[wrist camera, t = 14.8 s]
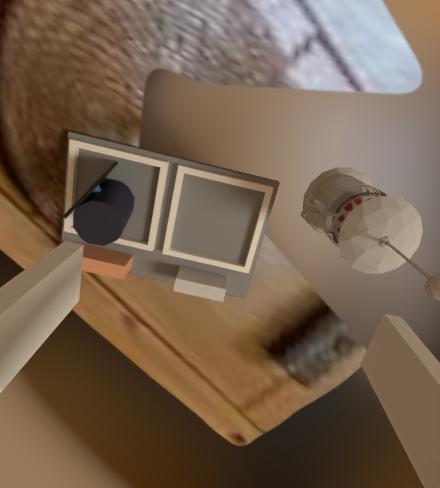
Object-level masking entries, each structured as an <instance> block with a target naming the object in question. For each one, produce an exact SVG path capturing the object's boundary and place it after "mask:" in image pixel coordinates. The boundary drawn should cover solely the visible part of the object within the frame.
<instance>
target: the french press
mask: <svg viewBox="0 0 440 488" xmlns="http://www.w3.org/2000/svg"><path fill="white" fill-rule="evenodd" d="M374 189H375V190H376V188H374V187H373V184H372V183H371V182H370V180H369V179H368V178H367V177H366V176H365V174H363V173H361V172H359V171H357V170H355V169H353V168H334V169H332V170H329V171H326V172H323V173H322V174H321V175H320V176H318V177H317V178H316V179H315V180H314V181H313V182H311V184H310V186H309V188H308V190H307V191H306V193H305V195H304V202H303V212H302V213H301V216H302V217H303V218H304V219H305V220H306V221H307V223H308V224H309V225H310V226H312V228H313V229H314V230H315V231H317V232H319V233H321V234H323V235H325V236H328V237H329V238H330V240H331V241H332V239H333V240H334V242H335V243H334V242H333V241H332V242H333V243H334V244H335V245H337V244H338V245H337V246H338V247H339V249H340V253H341V257H342V258H343V259H344V260H345V261H346V262H347V264H348V265H349V266H350V267H352V268H354V269H356V270H358V271H361V272H363V273H375V274H376V273H377V274H380V273H384V272H387V271H390V270H394V269H396V268H398V267H399V266H400V265H402V264H403V263H404V262H406V261H407V262H409V263H410V264H411V265H412V266H413V267H415V268H416V269H417V270H418V271H420V272H421V273H422V274H423V275H424V276H425V277H427V278H428V281H427V282H426V285H425V291H426V293H427V294H428V295H429V296H430V297H433V298H435V299H437V300H439V301H440V274H436V275H433V276H432V277H431V276H429V275H428V274H427V273H426V272H424V271H423V270H422V269H421V268H420V267H418V266H417V265H416V264H415V263H413V262H412V261H411V260H410V258H411V256H412V255H413V253H414V252H415V251H416V249H417V248H418V246H419V243H420V240H421V236H422V232H423V229H422V223H421V217H420V215H419V214H418V212H417V211H416V210H415V208H414V207H413V206H412V204H410V203H408V202H406V201H404V200H402V199H400V198H398V197H389V196H387V195H386V194H385V193H383V192H381V191H379V190H378V191H379V192H380V194H379V192H378V191H377V190H376V192H377V193H376V192H375V191H374ZM303 214H304V215H305V217H304V215H303ZM330 236H331V237H333V238H332V239H331V237H330ZM336 243H337V244H336Z"/></svg>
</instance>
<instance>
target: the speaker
mask: <svg viewBox="0 0 440 488" xmlns="http://www.w3.org/2000/svg"><path fill="white" fill-rule="evenodd" d="M117 164H118V162H117V161H115V162H114V163H113V164H112V165H111V166H110V168H109V169H108V170H107V171H106V172H105V173H104V174H103V175H102V176H101V177H100V178H99V179H98V180H97V181H96V182H95V183H94V184H93V185H92V186H91V187H90V188H89V189H88V190H87V191H86V192H85V193H84V194H83V195H82V196H81V198H80V199H79V200H78V201H77V202H76V203H75V204H74V205H73V206H72V207H71V208H70V209H69V210H68V211H67V212H66V213H65V214H64V215H63V217H64V218H65V219H66V218H67V217H68V216H69V215H70V214H71V213H72V212H73V211H74V210H75V211H74V212H73V228H74V229H75V231H76V232H77V234H78V235H79V236H80V238H81V239H82V240H83V241H85V242H87V243H88V244H94V245H101V246H105V245H108V244H110V243H112V242H114V241H117V240H118V239H119V237H120V236H121V235H122V233H123V231H124V228H125V226H126V224H127V222H128V220H129V218H130V216H131V214H132V212H133V209H134V201H135V197H134V196H133V194H132V192H131V191H130V189H129V187H128V186H127V185H125V184H124V183H122V182H117V181H112V180H107V181H105V182H103V183H101V182H102V181H103V180H104V179H105V178H106V176H107V175H108V174H109V173H110V172H111V171H112V170H113V169H114V167H115V166H116V165H117ZM100 183H101V184H100Z"/></svg>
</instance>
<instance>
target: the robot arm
mask: <svg viewBox="0 0 440 488" xmlns="http://www.w3.org/2000/svg"><path fill="white" fill-rule="evenodd" d="M83 248H84V245H82V244H78V243H74V242H69V241H64V242H63V243H62V244H60V245H59V246H57V247H56V248H55V249H53V250H52V251H50V252H49V253H48V254H46V255H45V256H44V257H42V258H41V259H39V260H38V261H37V262H35V263H34V264H32V265H31V266H30V267H28V268H27V269H26V270H24V271H23V272H21V273H20V274H19V275H17V276H16V277H15V278H13V279H12V280H10V281H9V282H8V283H6V284H5V285H3V286H2V287H1V288H0V393H1V391H2V390H3V389H4V388H5V387H6V385H7V384H8V383H9V382H10V381H11V380H12V379H13V377H14V376H15V375H16V374H17V373H18V372H19V370H20V369H21V368H22V367H23V366H24V365H25V363H26V362H27V361H28V360H29V359H30V358H31V356H32V355H33V354H34V352H36V350H37V349H38V348H39V347H40V346H41V345H42V343H43V342H44V341H45V340H46V339H47V338H48V336H49V335H50V334H51V333H52V332H53V331H54V329H55V328H56V327H57V326H58V325H59V324H60V322H61V321H62V320H63V319H64V318H65V317H66V315H67V314H68V313H69V312H70V311H71V310H72V308H73V307H74V306H75V305H76V304H77V303H78V301H79V293H80V282H81V271H82V259H83ZM361 365H362V367H363V369H364V371H365V373H366V375H367V377H368V379H369V381H370V383H371V385H372V387H373V389H374V390H375V392H376V394H377V396H378V398H379V400H380V402H381V404H382V406H383V408H384V410H385V412H386V414H387V416H388V418H389V420H390V422H391V423H392V425H393V427H394V429H395V431H396V433H397V435H398V437H399V439H400V441H401V443H402V445H403V447H404V449H405V451H406V453H407V455H408V457H409V459H410V461H411V463H412V465H413V466H414V468H415V470H416V472H417V474H418V476H419V478H420V480H421V482H422V484H423V486H424V488H440V363H439V362H438V361H437V359H436V358H435V357H434V356H433V355H432V353H431V352H430V351H429V350H428V349H427V347H426V346H425V345H424V344H423V343H422V342H421V340H420V339H419V338H418V337H417V336H416V334H415V333H414V332H413V331H412V329H411V328H410V327H409V326H408V325H407V324H406V322H405V321H404V320H403V319H402V318H401V317H396V316H392V315H388V314H385V315H384V316H383V319H382V320H381V323H380V325H379V327H378V329H377V331H376V333H375V335H374V337H373V339H372V341H371V343H370V345H369V347H368V349H367V351H366V353H365V356H364V358H363V360H362V362H361Z"/></svg>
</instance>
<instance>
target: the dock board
mask: <svg viewBox="0 0 440 488" xmlns="http://www.w3.org/2000/svg"><path fill="white" fill-rule="evenodd" d="M115 161H117V162H118V164H117V165H116V166H115V167H114V169H113V170H112V171H111V172H110V173H109V174H108V175H107V176H106V178H105V179H104V180H103V181H102V182H101V183H103V182H105V181H107V180H112V181H117V182H122V183H124V184H125V185H127V186H128V187H129V189H130V191H131V192H132V194H133V196H134V197H135V201H134V209H133V212H132V214H131V216H130V218H129V220H128V222H127V224H126V226H125V228H124V231H123V233H122V235H121V236H120V237H119V239H118V240H117V241H114V242H112V243H110V244H108V245H105V246H101V245H94V244H88V243H87V242H85V241H83V240H82V239H81V238H80V236H79V235H78V234H77V232H76V231H75V229H74V228H73V212H74V211H75V210H74V211H73V212H72V213H71V214H70V215H69V216H68V217H67V218H66V219H65V218H64V217H63V225H62V241H61V244H62V243H63V242H64V241H69V242H74V243H78V244H82V245H84V248H83V259H82V270H83V271H87V272H91V273H96V274H100V275H105V276H109V277H114V278H118V279H124V277H125V276H126V275H127V273H132V274H136V275H141V276H145V277H150V278H154V279H159V280H163V281H168V282H172V283H175V285H174V290H173V291H176V292H181V293H185V294H189V295H194V296H198V297H203V298H207V299H212V300H216V301H221V302H223V300H224V297H225V295H230V296H234V297H238V298H243V299H245V297H246V294H247V290H248V287H249V284H250V280H251V277H252V274H253V270H254V267H255V264H256V260H257V257H258V253H259V250H260V247H261V243H262V240H263V237H264V233H265V230H266V227H267V223H268V220H269V216H270V213H271V209H272V206H273V203H274V200H275V196H276V193H277V189H278V186H279V182H278V181H275V180H271V179H267V178H263V177H259V176H254V175H250V174H246V173H242V172H238V171H233V170H230V169H225V168H221V167H217V166H213V165H209V164H205V163H201V162H197V161H193V160H189V159H184V158H180V157H176V156H172V155H168V154H164V153H160V152H156V151H151V150H147V149H143V148H139V147H135V146H131V145H127V144H122V143H118V142H114V141H110V140H106V139H102V138H98V137H94V136H89V135H85V134H81V133H77V132H73V131H71V132H68V144H67V160H66V176H65V192H64V209H63V215H64V214H65V213H66V212H67V211H68V210H69V209H70V208H71V207H72V206H73V205H74V204H75V203H76V202H77V201H78V200H79V199H80V198H81V196H82V195H83V194H84V193H85V192H86V191H87V190H88V189H89V188H90V187H91V186H92V185H93V184H94V183H95V182H96V181H97V180H98V179H99V178H100V177H101V176H102V175H103V174H104V173H105V172H106V171H107V170H108V169H109V168H110V166H111V165H112V164H113V163H114V162H115ZM101 183H100V184H101Z"/></svg>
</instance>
